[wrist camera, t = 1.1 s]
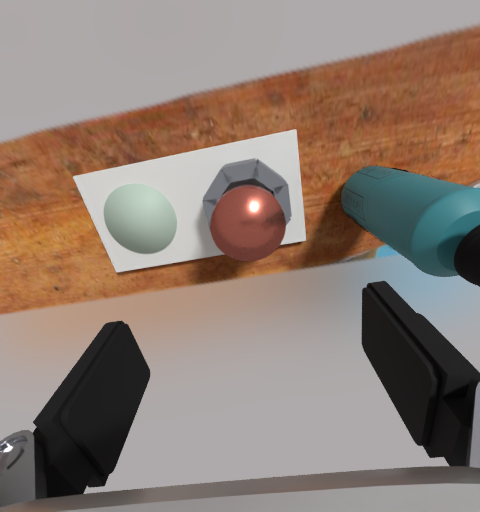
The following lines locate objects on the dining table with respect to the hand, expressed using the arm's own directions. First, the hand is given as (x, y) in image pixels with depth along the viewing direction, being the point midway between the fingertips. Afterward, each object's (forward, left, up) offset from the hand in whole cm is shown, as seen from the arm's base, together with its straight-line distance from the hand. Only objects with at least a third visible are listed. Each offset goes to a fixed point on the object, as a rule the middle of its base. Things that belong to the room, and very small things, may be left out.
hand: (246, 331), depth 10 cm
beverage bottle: (-14, -2, -24) cm, 28 cm away
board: (+6, +2, -24) cm, 24 cm away
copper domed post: (0, 0, -23) cm, 23 cm away
